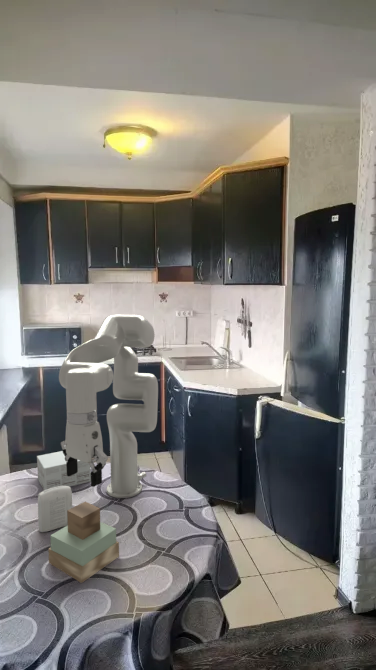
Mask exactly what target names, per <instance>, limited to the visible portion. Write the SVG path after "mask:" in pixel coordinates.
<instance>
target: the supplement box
mask: <svg viewBox="0 0 376 670" xmlns="http://www.w3.org/2000/svg"><path fill="white" fill-rule="evenodd" d="M36 462H37V463H36V465H37V480H38V481H39V483H40V485H41V488H42V491H44V490H47V489H49V488H52V487H56V486H69V487H70V488H71V487H73V486H77V485H78V486H79V485H81V484H82V485H83V484H86V483H91V472H92V471H91V467H90V465H89V463H85V462H83V461H80V460H77V464H78V472H77V473H76V474H73V475H71V476H67V468H66V462H67V461H65V456H64V454H63V450H60V451H57V452H51V453H45V454H40V455H36Z"/></svg>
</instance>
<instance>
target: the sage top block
mask: <svg viewBox="0 0 376 670" xmlns="http://www.w3.org/2000/svg"><path fill="white" fill-rule="evenodd" d="M49 538H50V547H51V550H52V551H54V552H56V553H58V554H60V555H62V556H64V557H66V558H68V559H70V560H71V561H73V562H75V563H77V564H79V565H81V566H84V565H85V564H87V563H88V562H90V561H91V560H92V559H94V558H95V557H97V556H98V555H99V554H101V553H102V552H104V551H105V550H106V549H108V548H109V547H111V546H112V545H113V544H115V543H116V541H117V528H116V527H113V526H111V525H110V524H106V523H104V522H102V521H100V530H99V531H97V532H95V533H94V534H92V535H90V536H88V537H87V538H85V539H83V540H82V539H80V538H78V537H76V536H75V535H73V534H71V533H69V532H68V525H67V526H64V527H61V529H59V530H57V531H56V532H54V533H52V534H50V537H49Z"/></svg>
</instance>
